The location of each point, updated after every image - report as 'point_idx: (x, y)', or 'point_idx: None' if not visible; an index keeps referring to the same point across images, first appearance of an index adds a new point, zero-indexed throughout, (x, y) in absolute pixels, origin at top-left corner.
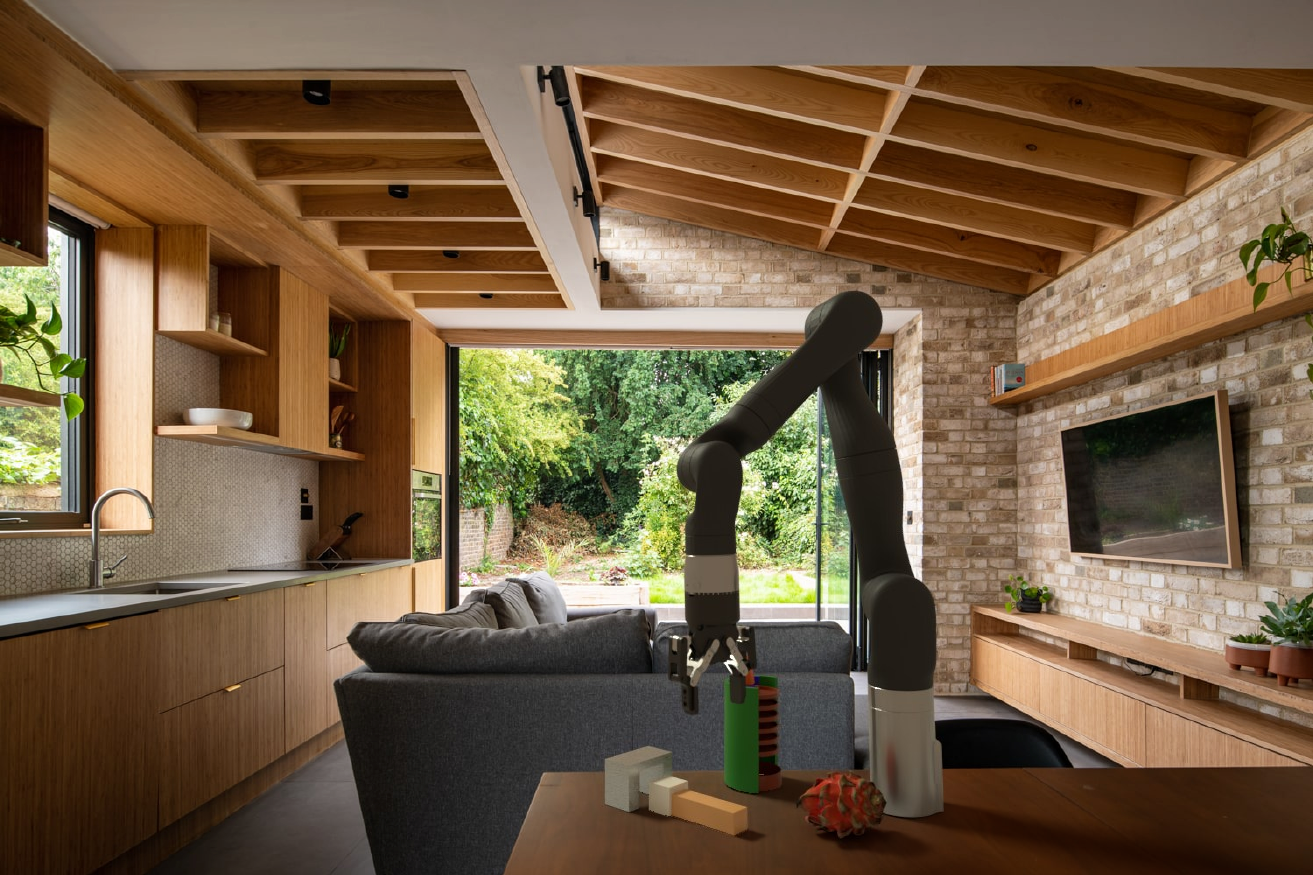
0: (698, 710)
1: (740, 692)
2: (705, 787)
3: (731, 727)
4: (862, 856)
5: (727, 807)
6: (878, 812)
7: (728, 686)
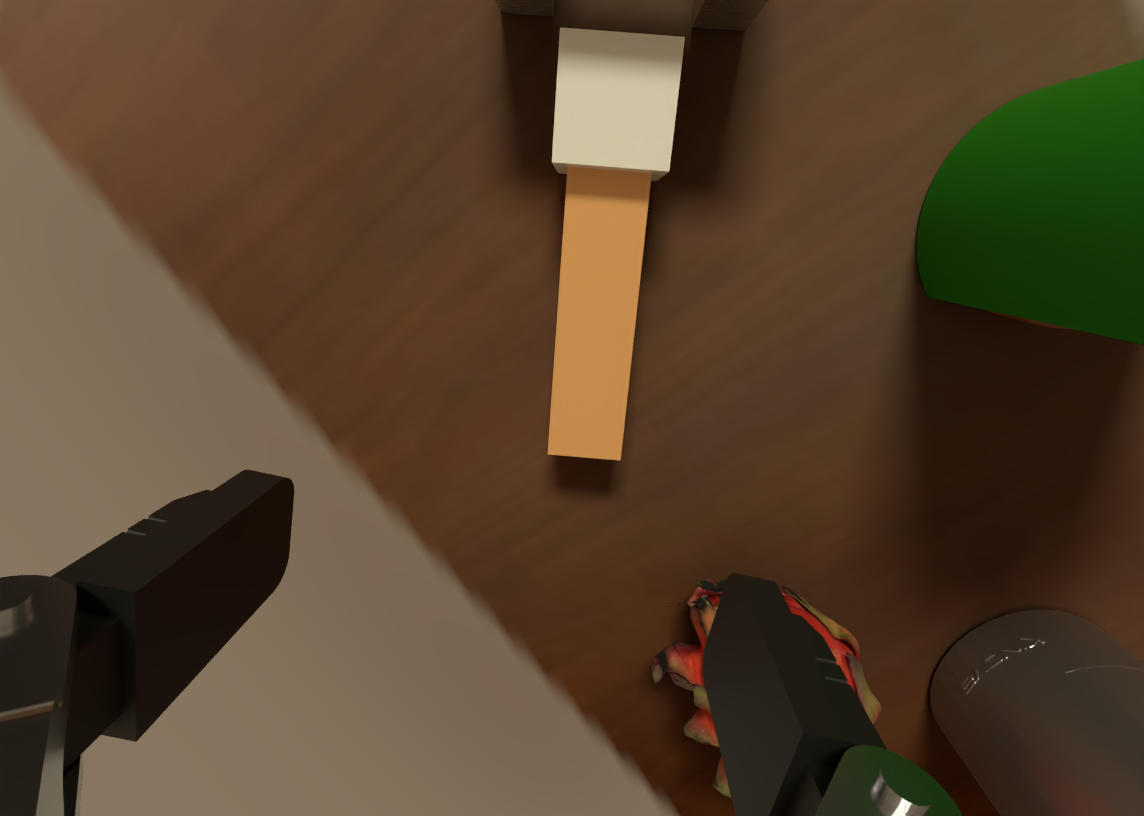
0: (270, 592)
1: (717, 729)
2: (902, 80)
3: (1140, 160)
4: (636, 717)
5: (579, 412)
6: None
7: None
